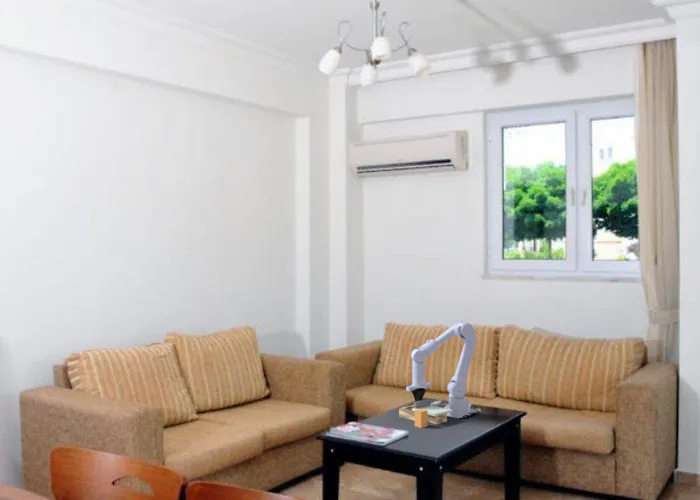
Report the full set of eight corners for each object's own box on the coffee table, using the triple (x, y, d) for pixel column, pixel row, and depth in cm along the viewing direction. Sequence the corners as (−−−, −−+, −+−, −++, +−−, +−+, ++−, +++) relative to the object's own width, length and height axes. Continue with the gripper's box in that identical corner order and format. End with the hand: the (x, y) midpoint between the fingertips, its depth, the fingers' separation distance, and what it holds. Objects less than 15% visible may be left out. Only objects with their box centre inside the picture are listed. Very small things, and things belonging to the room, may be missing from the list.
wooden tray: (416, 412, 349) (416, 404, 349) (450, 420, 333) (450, 412, 333) (399, 416, 341) (399, 408, 341) (432, 425, 325) (432, 416, 325)
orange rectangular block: (421, 424, 327) (421, 409, 327) (427, 426, 324) (427, 410, 324) (414, 426, 324) (414, 410, 324) (421, 427, 321) (421, 411, 321)
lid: (429, 406, 343) (429, 398, 343) (452, 411, 332) (452, 403, 332) (412, 410, 335) (412, 402, 335) (434, 416, 324) (434, 407, 324)
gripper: (413, 378, 332) (413, 408, 332) (435, 374, 342) (435, 403, 342) (402, 376, 337) (402, 405, 338) (424, 372, 347) (424, 401, 347)
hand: (418, 404), depth 340 cm, fingers closed
